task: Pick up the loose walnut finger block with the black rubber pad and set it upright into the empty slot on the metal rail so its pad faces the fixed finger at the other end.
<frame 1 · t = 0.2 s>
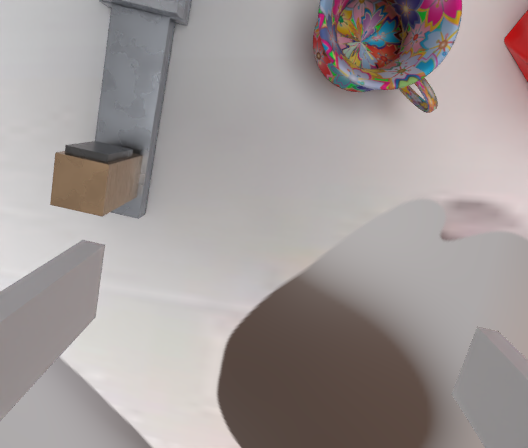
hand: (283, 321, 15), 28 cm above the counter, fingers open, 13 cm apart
rail: (139, 74, 39), on the counter
mug: (367, 56, 38), on the counter
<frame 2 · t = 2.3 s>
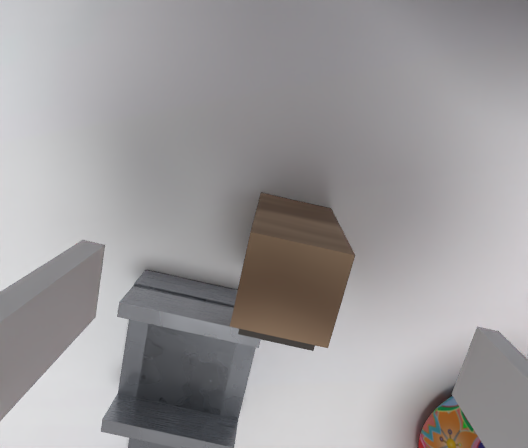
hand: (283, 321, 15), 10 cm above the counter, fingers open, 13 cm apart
finger block: (287, 234, 24), on the counter
mug: (490, 447, 27), on the counter
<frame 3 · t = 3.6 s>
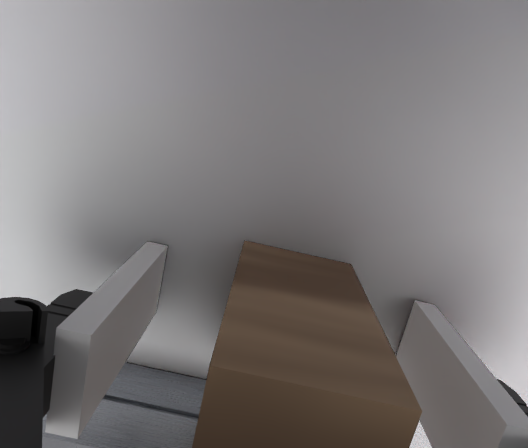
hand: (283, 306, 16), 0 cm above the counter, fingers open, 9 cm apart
finger block: (285, 301, 16), on the counter
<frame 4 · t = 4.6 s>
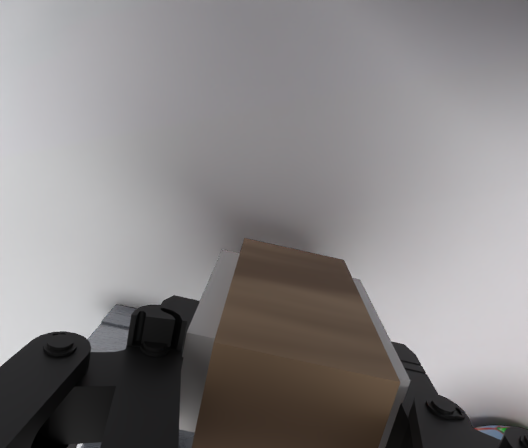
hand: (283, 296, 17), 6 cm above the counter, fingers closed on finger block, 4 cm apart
finger block: (282, 295, 17), point 5 cm above the counter, touching gripper
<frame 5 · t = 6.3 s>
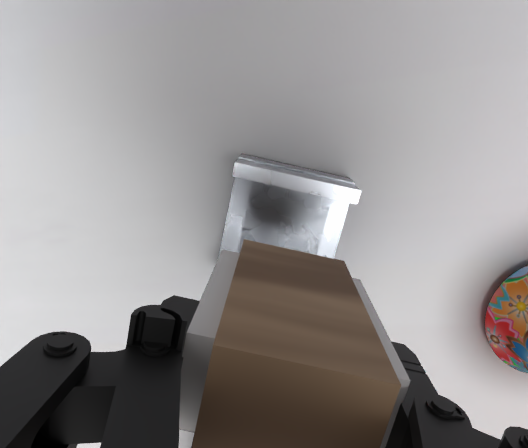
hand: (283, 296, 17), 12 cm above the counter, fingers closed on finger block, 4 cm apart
rail: (253, 341, 31), on the counter
finger block: (282, 296, 17), point 12 cm above the counter, touching gripper
when the fingers open (3 cm above the counter, at t = 8.1 s): finger block stays where it is, resting on rail.
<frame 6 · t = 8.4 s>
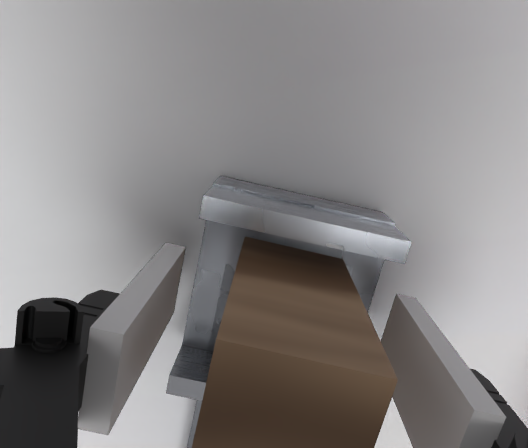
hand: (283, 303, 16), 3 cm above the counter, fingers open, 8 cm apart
rail: (240, 441, 21), on the counter
finger block: (282, 293, 17), point 2 cm above the counter, touching rail
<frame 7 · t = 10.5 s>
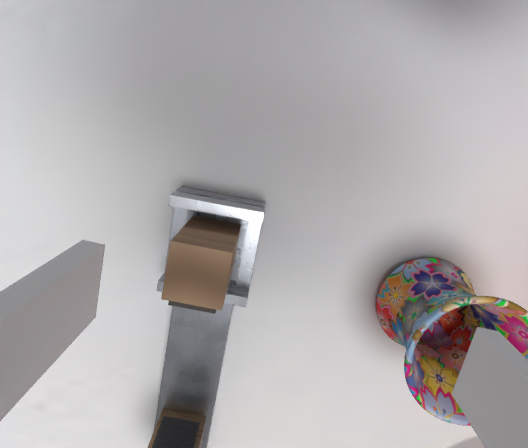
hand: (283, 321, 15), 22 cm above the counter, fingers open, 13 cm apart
rail: (200, 331, 39), on the counter
finger block: (213, 243, 35), point 2 cm above the counter, touching rail
mug: (428, 310, 38), on the counter
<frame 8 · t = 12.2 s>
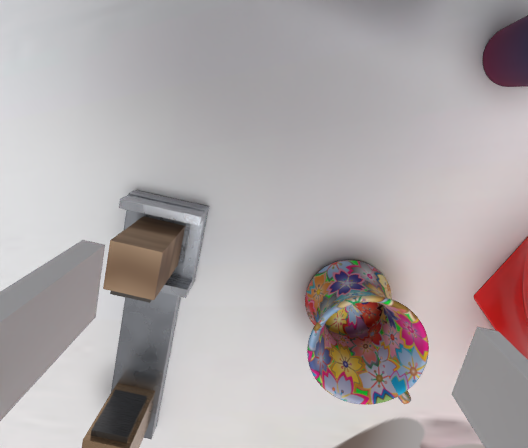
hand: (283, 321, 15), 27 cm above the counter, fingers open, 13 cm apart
rail: (152, 317, 44), on the counter
cup: (510, 56, 37), on the counter
finger block: (160, 241, 40), point 2 cm above the counter, touching rail
mug: (353, 306, 43), on the counter
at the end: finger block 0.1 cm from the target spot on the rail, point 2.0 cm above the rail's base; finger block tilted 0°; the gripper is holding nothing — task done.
